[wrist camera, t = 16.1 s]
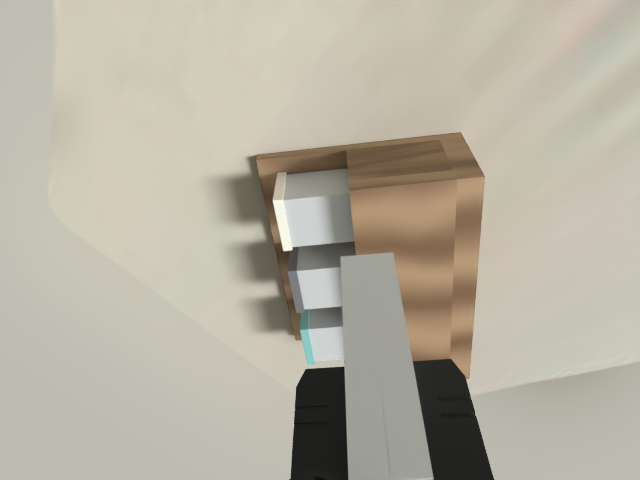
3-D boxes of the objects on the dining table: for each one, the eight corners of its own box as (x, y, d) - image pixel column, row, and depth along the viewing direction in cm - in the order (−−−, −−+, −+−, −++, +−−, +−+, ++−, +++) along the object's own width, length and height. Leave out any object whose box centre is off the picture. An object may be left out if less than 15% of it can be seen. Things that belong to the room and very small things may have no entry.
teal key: (301, 297, 53) (299, 329, 49) (422, 286, 52) (430, 319, 48) (308, 331, 56) (307, 364, 52) (423, 322, 55) (430, 355, 51)
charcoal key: (290, 240, 48) (287, 271, 44) (422, 227, 47) (431, 258, 43) (298, 280, 51) (296, 313, 48) (422, 269, 50) (430, 302, 46)
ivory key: (277, 172, 44) (272, 200, 40) (422, 157, 43) (431, 184, 39) (287, 220, 47) (283, 251, 43) (422, 207, 46) (431, 237, 42)
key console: (257, 155, 44) (245, 201, 38) (460, 132, 43) (484, 176, 36) (296, 333, 58) (292, 391, 51) (452, 321, 56) (469, 378, 50)
